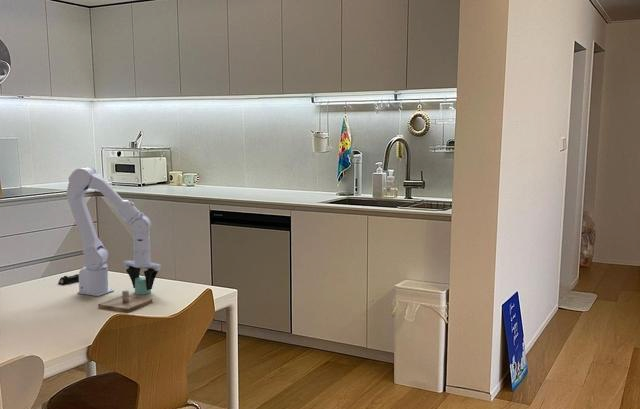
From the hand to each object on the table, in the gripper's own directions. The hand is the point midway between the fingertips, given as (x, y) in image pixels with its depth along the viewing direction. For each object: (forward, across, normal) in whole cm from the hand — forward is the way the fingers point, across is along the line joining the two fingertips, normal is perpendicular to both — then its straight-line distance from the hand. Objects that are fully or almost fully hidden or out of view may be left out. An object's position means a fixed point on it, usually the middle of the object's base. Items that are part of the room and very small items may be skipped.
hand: (142, 288), depth 213 cm
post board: (+1, +5, -15) cm, 16 cm away
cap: (+1, 0, 0) cm, 1 cm away
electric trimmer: (+2, -32, +3) cm, 33 cm away
